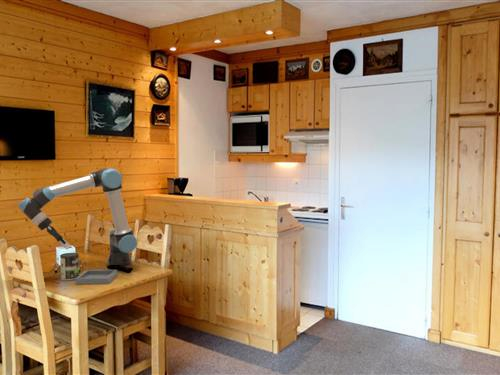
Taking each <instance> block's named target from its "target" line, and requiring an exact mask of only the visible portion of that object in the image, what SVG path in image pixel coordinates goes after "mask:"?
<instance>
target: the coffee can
mask: <svg viewBox="0 0 500 375" xmlns="http://www.w3.org/2000/svg"><path fill="white" fill-rule="evenodd" d="M79 255H80V253H78V252H65V253H61V254H60V255H59V258H60V260H59V261H60V280H62V281H72V280H74V281H75V278H77V277H78V276H79V275H80V261H79V260H80V258H79Z"/></svg>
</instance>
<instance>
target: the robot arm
mask: <svg viewBox="0 0 500 375" xmlns="http://www.w3.org/2000/svg"><path fill="white" fill-rule="evenodd" d="M122 183H123V176H122V174H121V173H120V172H119V171H118V170H117V169H115V168H106V167H104V168H101V169H98V170H96V171H93V172H91V173H90V172H89V173H88V175H84V176H82V177H77V178H75V179H71V180H68V181H64V182H60V183H57V184H54V185H50V186H46V187H44V188H38V189H35V190H34V191H33V192H32V198H29V197H26V198H24V199H23V200H22V201H20V202H19V203H18V205H17V207H18V209H19V210H20V211H22V213H23V214H24V215H25V216H26V217H27V218H28V219H29V220H30V221H31V224H34V225H36V226H37V228H38V229H39V230H41V231H44V230H45V229H46V232H47V233H48V234H49V235H51V236H52V237H53V238H54V239H55V240H56V242H58V243H60V245H62V247H63V248H64V250H67V251H68V250H69V249H70V248H72V245H71V244H70V243H69V242H68V241H67V240H66V239H65V238H64V237H63V235H60V233H59V232H57V229H56V228H55V227H54V226H52V225H51V224H52V223H53V221H52V220H51V218H49V217H48V216H47V215H46V213H45V212H43V211H42V210H41V209H42V208H43V207H44V206H46V205H47V204H49V203H50V202H52V201H53V200H54V199H55V198H58V197H61V196H65V195H68V194H73V193H77V192H78V191H82V190H86V189H89V188H93V189H94V188H99V187H101V188H102V191H103V193H104V194H106V198H107V201H108V205H109V209H110V213H111V218H112V222H113V225H114V229H111V230H109V255H108V258H107V265H108V266H109V265H121V266H120V267H122V266H123V267H124V266H128V265H130V264H132V259H131V256H130V253H131V252H133V251H134V250H136V248H137V246H138V239H137V237H136V236H135V235H134V231H133V228H131V227H130V225H129V221H128V217H127V214H126V208H125V205H124V200H123V195H122V193H121V191H122V189H123V186H122Z"/></svg>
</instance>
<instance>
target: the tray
mask: <svg viewBox="0 0 500 375" xmlns="http://www.w3.org/2000/svg"><path fill="white" fill-rule="evenodd" d="M117 276H118V270H117V269H86V270H84V271H83V272H81V274H79V276H78V277H77V278H75V279H74V281H75V285H109V284H110V283H111V282H112V281H113V280H115V278H116V277H117Z"/></svg>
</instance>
